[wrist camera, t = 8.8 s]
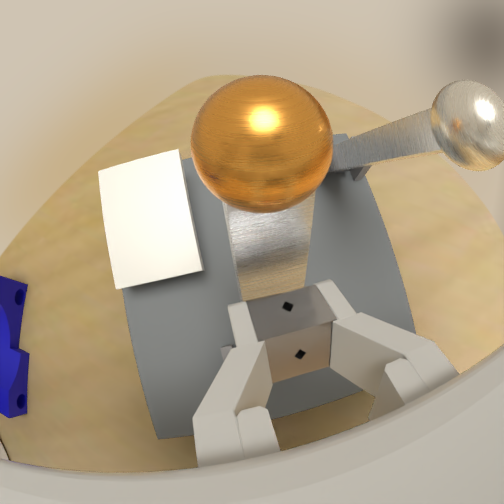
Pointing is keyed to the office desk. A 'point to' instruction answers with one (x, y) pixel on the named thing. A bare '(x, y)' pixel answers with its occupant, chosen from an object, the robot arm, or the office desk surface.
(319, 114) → the lever orange
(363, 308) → the panel
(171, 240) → the white rectangular block
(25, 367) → the cable clip
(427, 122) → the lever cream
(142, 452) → the office desk surface
